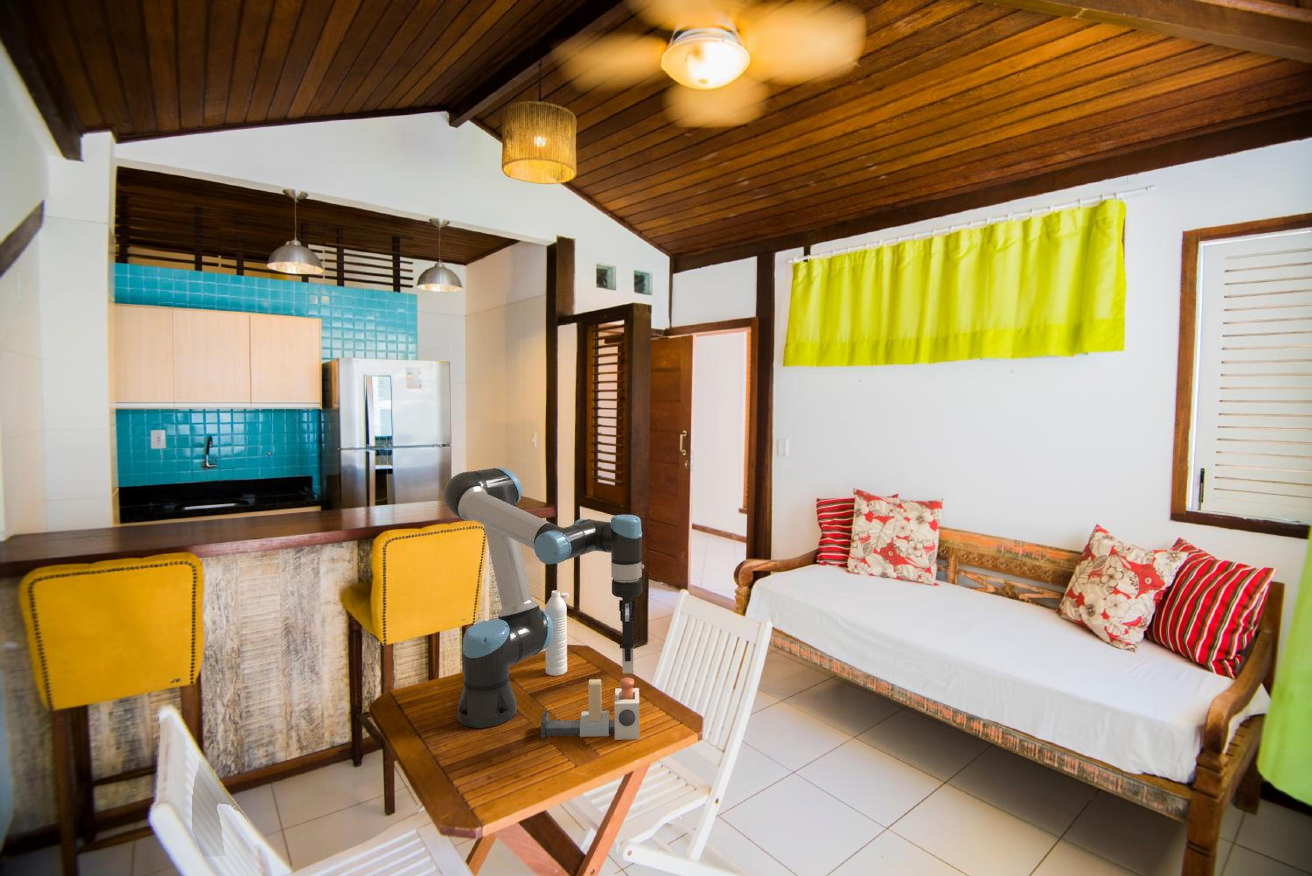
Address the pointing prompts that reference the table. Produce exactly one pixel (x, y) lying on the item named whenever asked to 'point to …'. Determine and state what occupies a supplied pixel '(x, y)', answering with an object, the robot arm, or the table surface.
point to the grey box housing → (626, 716)
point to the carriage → (594, 713)
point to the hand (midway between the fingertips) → (628, 671)
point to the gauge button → (626, 688)
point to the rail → (565, 727)
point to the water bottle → (557, 635)
